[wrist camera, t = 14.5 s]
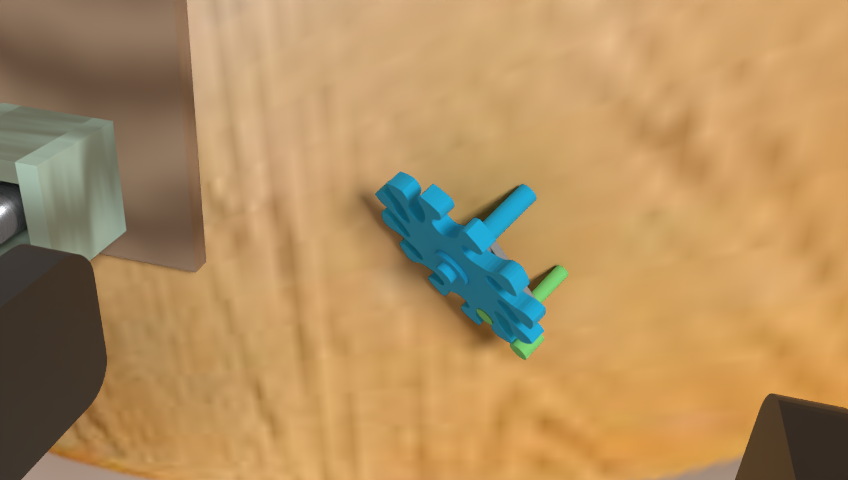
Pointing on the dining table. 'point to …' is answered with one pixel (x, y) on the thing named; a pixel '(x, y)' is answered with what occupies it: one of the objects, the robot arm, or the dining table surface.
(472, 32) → the dining table surface
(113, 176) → the pale green open box
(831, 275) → the dining table surface
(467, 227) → the gear
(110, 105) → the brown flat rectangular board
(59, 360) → the robot arm
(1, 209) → the metal post
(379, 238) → the dining table surface
